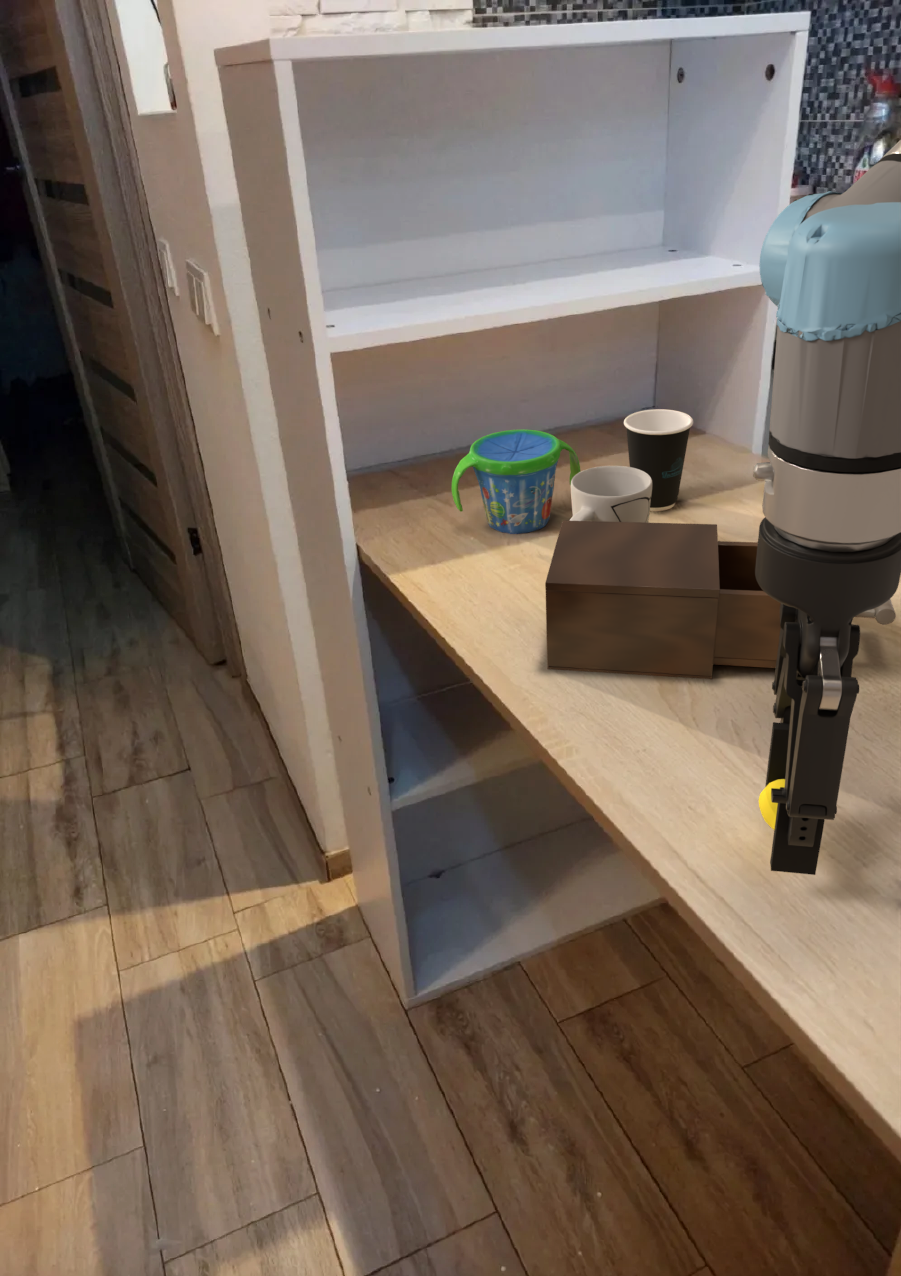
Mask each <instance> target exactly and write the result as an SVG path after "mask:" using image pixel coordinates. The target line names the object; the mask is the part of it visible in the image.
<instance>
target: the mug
mask: <svg viewBox="0 0 901 1276" xmlns="http://www.w3.org/2000/svg"><path fill="white" fill-rule="evenodd" d="M580 471H581V472H579V473H578V474H576V475H575V476H574V477H573V478H572V481H571V486H570V497H571V500H570V501H571V512H572V517H571V518H570V519H569V521H604V522H643V523H649V519H650V512H651V511H650V503H651V494H652V479H651V477H650V476H649V475H648V474H647V473H645V472H644V471H642V470H639V469H636V468H632V467H630V466H626V465H601V466H600V465H599V466H595V467H594V466H593V467H589V468H587V469H583V470H580Z"/></svg>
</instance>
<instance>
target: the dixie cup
mask: <svg viewBox="0 0 901 1276" xmlns="http://www.w3.org/2000/svg"><path fill="white" fill-rule="evenodd" d="M623 425H624V427H625V428H626V438H627V439H626V441H627V452H628V453H627V454H628V463H629V467H632V468H636V469H639V470H642V471H644V472H645V473H647V474H648V475H649V476H650V477H651V479H652V494H651V503H650V512H662V511H663V512H664V511H666V510H670V509H672V508H673V507H674V506H675V505H676V503H677V501H678V499H679V493H680V487H681V481H682V476H683V470H684V464H685V459H686V453H687V447H688V442H689V436H690V432H691V431H690V430H691V427H692V426H693V425H694V419H693V417H691V416H690V415H689V414H688V413H686V412H683V411H679V410H675V409H674V410H673V409H663V408H662V409H661V408H657V409H656V408H655V409H645V410H639V411H635V412H634V413H631V414H628V415H627V416H626V417H625V419H624V420H623Z"/></svg>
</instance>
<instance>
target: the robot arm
mask: <svg viewBox="0 0 901 1276" xmlns="http://www.w3.org/2000/svg"><path fill="white" fill-rule="evenodd" d="M760 249H761V250H760V255H759V276H760V281H761V285H762V287H763V289H764V292H765V296H767V297H768V298H769V300H770V301H771V303H773V304H774V305H775V306H776V307H777V310H776V312H775V313H776V315H775V317H776V325H777V329H776V330H777V331H776V343H775V354H774V367H773V380H772V393H771V405H770V419H769V428H768V429H769V431H768V444H767V445H768V449H767V458H768V460H769V461H765V462H757V463H755V464H754V466H753V471H752V477H753V478H754V479H755V480H756V481H760V482H764V485H763V494H762V495H763V496H762V514H763V515H764V517H763V518H762V520H761V521H760V523H759V526H758V536H757V542H758V546H757V556H756V567H755V576H756V580H757V582H758V584H759V586H760V587H761V589H762V590H763V591H764V592H765V593H766V594H767V595H769V596H770V597H771V598H773V599H774V600H776V601H778V602H780V603H781V604H780V626H781V629H780V635H779V645H778V653H777V661H776V668H774V669H775V670H774V677H773V682H771V690H772V691H773V695H774V696H776V697H775V701H774V702H773V703H774V704H773V706H772V713H773V715H774V718H775V719H780V721H779V722H777V721H776V722H775V721H774V722H772V728H771V735H770V744H769V754H768V761H767V770H766V778H765V785H764V788H765V787H766V786H767V785H768V784H769V783H771V782H773V781H775V780H778V779H785V787H780V789H776V788H771V801H772V803H778V806H777V814H776V822H775V829H774V830H773V837H772V844H771V845H772V846H771V852H770V860H769V864H770V871H771V872H779V873H780V872H782V873H790V874H802V875H812V876H816V874H817V868H818V862H819V855H820V851H821V845H822V837H823V832H824V827H825V820H827V821H828V820H829V821H834V820H835V818H836V815H837V813H838V807H837V805H838V799H839V792H840V785H841V781H842V773H843V766H844V761H845V755H846V747H847V742H848V736H849V729H850V725H851V717H852V714H853V711H854V706H855V703H856V701H857V696H858V694H860V684H859V681H858V679H857V677H853V676H852V673H853V663H854V659H855V657H856V656H857V655H858V654H859V650H860V641H861V626H860V624H852V623H853V620H854V618H856V617H855V616H857V615H859V614H860V613H863V612H865V611H867V610H871V609H874V608H876V607H879V606H881V605H882V604H884V603H886V602H887V601H888V600H889V599H892V598H893V596H894V595H895V594H896V592H897V590H898V588H899V584H900V579H901V139H900V140H899V141H898V142H896V143H895V145H894V146H892V147H891V148H890V149H889V150H888V151H886V153H885V154H884V155H883V156H882V157H881V158H880V159H879V160H878V161H877V162H876V163H875V164H874V165H873V166H871V167H870V168H869V169H868V170H867V171H866V172H865V173H864V174H863V175H861V176H860V177H859V178H858V179H857V180H856V181H855V182H854V183H853V184H852V185H851V186H850V187H849V188H847V190H846V191H844V192H839V191H832V190H831V191H830V190H829V191H825V192H824V193H823V192H822V193H812V194H807V195H805V196H803V197H801V198H799V199H796V200H794V201H792V202H791V203H790V204H789V205H787V206H786V207H784V209H782V210H781V211H780V213H779V214H778V215H777V216H776V218H775V219H774V221H773V222H772V223H771V225H770V227H769V228H768V231H767V233H766V234H765V237H764V240H763V242H762V246H761V248H760Z"/></svg>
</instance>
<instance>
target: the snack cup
mask: <svg viewBox="0 0 901 1276" xmlns="http://www.w3.org/2000/svg"><path fill="white" fill-rule="evenodd" d="M563 450H566V451H568V457H569V471H570V474H569V486H570V487H571V481H572V478H573V477H574V476H575V475H576V474H578V473H579V472H581V471H582V470H581V465H580V459H579V457H578V455H577V453H576V451H575V450H574V449H573V448H572V446H570V445H569V444H568V443H566V442H565V441H563V440H562V439H559V438H557V437H556V436H554V435H553V434H551V433H548V432H545V431H541V430H535V429H509V430H502V431H498V432H497V431H496V432H492V433H489V434H487V435H486V434H485V435H484V436H481V437H480V438H477V439H476V440H475V441H474V442H473V443H472V444H471V445H470V448H469V452H468V453H467V454H466V455H465V456H464V457H462V459H460V460H459V461H458V464H457V466H456V468H454V471H453V475H452V479H451V496H452V499H453V502H454V504H455V507H456V508H457V510H458V511H459V512H460V513H462V512H464V509H463V505H462V502H461V494H460V491H459V483H460V479H461V478H462V477H463V475H464V474H465V473H466V471H468V469H469V468H471V467H472V468H473V469H472V470H473V471H474V474H475V477H476V478H477V483H478V486H479V491H480V496H481V499H482V504H483V509H484V513H485V518H486V521H487V524H488V525H489V528H491V529H493V530H495V531H497V532H500V533H504V534H510V535H521V534H528V533H533V532H535V531H538V530H542V529H543V528H544V527H546V525H547V524H548V522H549V521H550V518H551V511H552V504H553V495H554V490H555V480H556V472H557V471H556V470H557V466H558V462H559V460H560V457H561V452H562V451H563Z"/></svg>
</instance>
